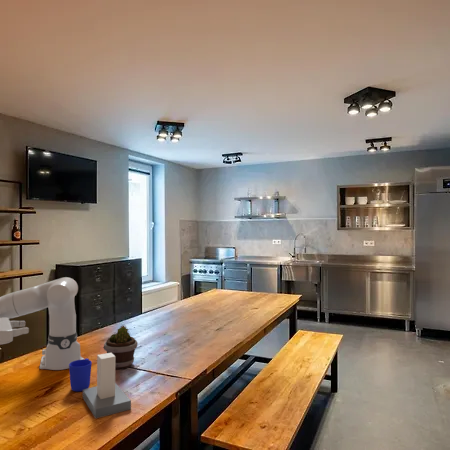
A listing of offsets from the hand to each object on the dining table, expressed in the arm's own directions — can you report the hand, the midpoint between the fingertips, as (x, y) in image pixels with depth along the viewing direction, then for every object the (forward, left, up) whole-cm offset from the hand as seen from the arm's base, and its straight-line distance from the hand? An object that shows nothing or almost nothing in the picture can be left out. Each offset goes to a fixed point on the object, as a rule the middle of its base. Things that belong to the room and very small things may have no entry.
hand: (26, 326), depth 124 cm
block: (+4, +25, -27) cm, 37 cm away
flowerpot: (-29, +41, -30) cm, 59 cm away
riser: (+4, +25, -30) cm, 39 cm away
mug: (-15, +21, -30) cm, 40 cm away
